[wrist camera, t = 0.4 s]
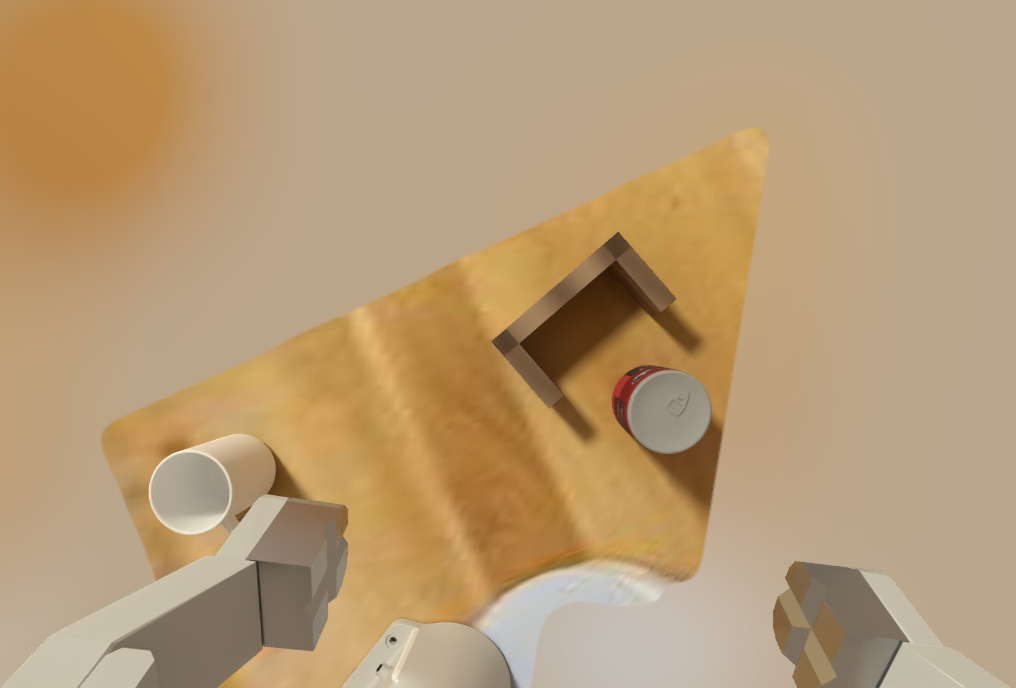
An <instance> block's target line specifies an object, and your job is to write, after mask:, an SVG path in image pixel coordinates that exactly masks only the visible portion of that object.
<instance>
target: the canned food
mask: <svg viewBox="0 0 1016 688" xmlns="http://www.w3.org/2000/svg"><path fill="white" fill-rule="evenodd" d="M612 408H613V412H614V415H615V417H616V419H617V421H618V422H619V424H620V425H621V426H622V427H623V428H624V429H625V430H626V431H627V432H628V433H630V434H631V435H632V436H633V437H634V438H635V439H636V440H637V441H638V442H639V443H640V444H642V445H643V446H644V447H646V448H648V449H649V450H652V451H655V452H658V453H663V454H675V453H679V452H683V451H685V450H687V449H689V448H691V447H692V446H694V445H695V444H696V443H698V442H699V440H700V439H701V438H702V437H703V436H704V434H705V433H706V431H707V429H708V427H709V424H710V421H711V415H712V406H711V401H710V397H709V395H708V393H707V390H706V389H705V388H704V386H703V385H702V384H701V383H700V382H699V381H698V380H697V379H696V378H694V377H693V376H691V375H689V374H688V373H685V372H682V371H679V370H674V369H669V368H664V367H658V366H652V365H647V366H640V367H636V368H634V369H632V370H630V371H629V372H627V373H626V374H625V375H624V376H623V377H622V378H621V379H620V380H619V382H618V383H617V385H616V387H615V389H614V392H613V397H612Z"/></svg>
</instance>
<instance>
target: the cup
mask: <svg viewBox="0 0 1016 688" xmlns="http://www.w3.org/2000/svg"><path fill="white" fill-rule="evenodd" d="M275 475H276V464H275V460H274V457H273V455H272V453H271V451H270V449H269V448H268V447H267V446H266V445H265V444H264V443H263V442H262V441H260V440H259V439H257V438H255V437H253V436H250V435H245V434H235V435H229V436H225V437H222V438H219V439H216V440H213V441H210V442H207V443H204V444H201V445H198V446H194V447H191V448H188V449H185V450H182V451H179V452H176V453H174V454H172V455H170V456H168V457H167V458H165V459H164V460H163V461H162V462H161V463H160V464H159V465H158V466H157V468H156V469H155V471H154V473H153V475H152V478H151V481H150V485H149V499H150V504H151V507H152V509H153V511H154V513H155V515H156V517H157V518H158V519H159V520H160V522H161V523H162V524H164V525H165V526H166V527H167V528H169V529H170V530H172V531H174V532H177V533H180V534H184V535H199V534H203V533H206V532H208V531H210V530H212V529H214V528H216V527H217V526H219V525H220V524H223V526H224V527H225V528H226V529H227V531H228V532H229V533H230V534H232V532H233V531H234V530H235V528H236V527H237V526H238V524H239V521H238V520H237V518H236V517H235V515H237V514H239V513H240V512H242V511H244V510H245V509H247V508H248V507H250V506H251V507H252V506H253V504H254V503H255V502H256V500H257V499H258V498H259V497H261V496H263V495H265V494H267V493H268V492H269V490H270V489H271V487H272V485H273V483H274V480H275Z"/></svg>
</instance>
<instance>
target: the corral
mask: <svg viewBox="0 0 1016 688" xmlns="http://www.w3.org/2000/svg"><path fill="white" fill-rule="evenodd" d="M607 267H608V268H609V269H610V271H611V272H612V273H613V274H614V275H615V276H616V277H617V279H618V280H619V281H620V282H621V283H622V284H623V286H624V287H625V288H626V289H627V290H628V291H629V292H630V294H631V295H632V296H633V297H634V298H635V299H636V300H637V302H638V303H639V304H640V305H641V306H642V307H643V309H644V310H645V311H646V312H647V313H648V314H654V313H659V312H662V311H663V310H664V309H666V308H667V307H668V306H669V305H670V304H671V303H673V302H674V301H675V300H676V298H675V296H674V295H673V294H672V293H671V292H670V291H669V290H668V288H667V287H666V286H665V285H664V284H663V283H662V282H661V280H660V279H659V278H658V277H657V276H656V275H655V273H654V272H653V271H652V270H651V269H650V268H649V267H648V265H647V264H646V263H645V262H644V261H643V260H642V259H641V257H640V256H639V255H638V254H637V253H636V252H635V251H634V249H633V248H632V247H631V246H630V245H629V244H628V242H627V241H626V240H625V239H624V238H623V237H622V236H621V234H620V233H619V232H617V233H616V234H615V235H614V236H613V237H612V238H611V239H609V240H608V241H607V242H606V243H605V244H604V245H602V246H601V247H600V248H599V249H598V250H597V251H596V252H594V253H593V254H592V255H591V256H590V257H589V258H587V259H586V260H585V261H584V262H583V263H582V264H580V265H579V266H578V267H577V268H576V269H575V270H574V271H572V272H571V273H570V274H569V275H568V276H567V277H565V278H564V279H563V280H562V281H561V282H560V283H559V284H557V285H556V286H555V287H554V288H553V289H552V290H550V291H549V292H548V293H547V294H546V295H545V296H544V297H542V298H541V299H540V300H539V301H538V302H537V303H535V304H534V305H533V306H532V307H531V308H530V309H528V310H527V311H526V312H525V313H524V314H523V315H522V316H520V317H519V318H518V319H517V320H516V321H515V322H513V323H512V324H511V325H510V326H509V327H508V328H507V329H505V330H504V331H503V332H502V333H501V334H500V335H498V336H497V337H496V338H495V339H494V340H493V341H492V343H493V344H494V345H495V346H496V347H497V349H498V350H499V351H500V352H501V353H502V354H503V356H504V357H505V358H506V359H507V360H508V361H509V362H510V364H511V365H512V366H513V367H514V368H515V369H516V371H517V372H518V373H519V374H520V375H521V376H522V378H523V379H524V380H525V381H526V382H527V383H528V384H529V386H530V387H531V388H532V389H533V390H534V391H535V393H536V394H537V395H538V396H539V397H540V398H541V400H542V401H543V402H544V403H545V404H546V405H547V407H548V408H550V407H551V406H552V405H554V404H555V403H556V402H557V401H558V400H559V399H561V398H562V397H563V396H564V395H563V393H562V392H561V390H560V389H559V388H558V387H557V386H556V385H555V383H554V382H553V381H552V380H551V379H550V378H549V376H548V375H547V374H546V373H545V372H544V371H543V369H542V368H541V367H540V366H539V365H538V364H537V363H536V361H535V360H534V359H533V358H532V357H531V356H530V354H529V353H528V352H527V351H526V350H525V349H524V347H523V346H522V345H521V344H520V342H522V341H523V340H524V339H525V338H526V337H527V336H529V335H530V334H531V333H532V332H533V331H534V330H536V329H537V328H538V327H539V326H540V325H541V324H542V323H544V322H545V321H546V320H547V319H548V318H549V317H551V316H552V315H553V314H554V313H555V312H556V311H558V310H559V309H560V308H561V307H562V306H563V305H564V304H566V303H567V302H568V301H569V300H570V299H571V298H573V297H574V296H575V295H576V294H577V293H578V292H580V291H581V290H582V289H583V288H584V287H585V286H587V285H588V284H589V283H590V282H591V281H592V280H593V279H595V278H596V277H597V276H598V275H599V274H600V273H602V272H603V271H604V270H605V269H606V268H607Z"/></svg>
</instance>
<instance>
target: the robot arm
mask: <svg viewBox="0 0 1016 688" xmlns="http://www.w3.org/2000/svg"><path fill="white" fill-rule="evenodd" d="M347 525H348V509H347V508H346V506H345V505H339V504H332V503H325V502H319V501H312V500H305V499H298V498H289V497H282V496H275V495H268V494H265V495H263V496H261V497H259V498H258V499H257V500H256V502H255V503H254V504H253V506H252V507H251V508H250V510H249V511H248V512H247V514H246V515H245V516H244V518H243V519H242V520H241V522H240V523H239V524H238V526H237V527H236V528H235V530H234V531H233V532H232V534H231V535H230V536H229V538H228V539H227V541H226V542H225V543H224V545H223V546H222V547H221V549H220V550H219V551H218V553H217V554H216V555H215V556H208V555H206V556H204V557H202V558H200V559H198V560H196V561H194V562H192V563H190V564H188V565H187V566H185V567H183V568H181V569H179V570H177V571H175V572H173V573H171V574H169V575H167V576H165V577H163V578H161V579H159V580H157V581H155V582H153V583H151V584H149V585H147V586H146V587H144V588H142V589H140V590H138V591H136V592H134V593H132V594H130V595H128V596H126V597H124V598H122V599H120V600H119V601H117V602H114V603H112V604H110V605H108V606H107V607H105V608H103V609H101V610H99V611H97V612H95V613H93V614H91V615H89V616H87V617H85V618H83V619H81V620H79V621H77V622H75V623H73V624H71V625H70V626H68V627H66V628H64V629H62V630H60V631H58V632H56V633H54V634H52V635H50V636H49V637H48V638H47V639H46V640H45V641H44V642H43V643H42V644H41V646H40V647H39V648H38V649H37V650H36V651H35V652H34V653H33V654H32V655H31V656H30V657H29V658H28V659H27V660H26V661H25V662H24V663H23V665H21V667H20V668H19V669H18V670H17V671H16V672H15V673H14V674H13V675H12V676H11V677H10V678H9V679H8V680H7V681H6V682H5V683H4V684H3V685H2V686H1V688H217V687H218V686H219V685H221V684H222V683H223V682H224V681H225V680H227V679H228V678H229V677H230V676H231V675H233V674H234V673H235V672H236V671H237V670H238V669H240V668H241V667H242V666H243V665H244V664H246V663H247V662H248V661H249V660H250V659H252V658H253V657H254V656H255V655H256V654H258V653H259V652H260V651H261V650H262V646H265V647H275V648H286V649H296V650H307V651H314V649H315V646H316V644H317V642H318V639H319V637H320V635H321V632H322V630H323V628H324V625H325V623H326V621H327V618H328V603H329V602H330V601H332V600H333V599H335V598H336V597H337V595H338V592H339V590H340V587H341V585H342V582H343V578H344V574H345V570H346V565H347V557H348V543H347V541H346V540H345V539H344V537H343V534H344V532H345V529H346V527H347ZM785 579H786V581H787V583H788V585H789V587H790V589H788V590H787V591H786V592H784V593H783V594H781V595H780V596H778V599H777V601H776V604H775V607H774V610H773V628H774V633H775V637H776V641H777V643H778V645H779V648H780V650H781V652H782V654H784V655H785V656H786V657H787V658H788V659H789V660H790V661H791V662H792V663H793V664H795V665H796V667H795V670H794V673H793V676H792V677H793V679H794V681H795V683H796V685H797V688H1011V687H1009V686H1007V685H1006V684H1005V683H1003V682H1002V681H1000V680H999V679H997V678H996V677H994V676H993V675H992V674H990V673H988V672H987V671H986V670H984V669H983V668H981V667H980V666H978V665H977V664H975V663H974V662H972V661H971V660H970V659H968V658H966V657H965V656H964V655H962V654H961V653H959V652H958V651H956V650H955V649H953V648H946V647H943V645H942V644H941V643H940V641H939V640H938V639H937V637H936V636H935V635H934V633H933V632H932V631H931V630H930V628H929V627H928V626H927V624H926V623H925V622H924V621H923V619H922V618H921V617H920V615H919V614H918V613H917V612H916V610H915V609H914V608H913V606H912V605H911V604H910V602H909V601H908V600H907V598H906V597H905V596H904V594H903V593H902V592H901V591H900V589H899V588H898V587H897V585H896V584H895V583H894V582H893V580H892V579H891V578H890V576H888V575H887V574H886V573H884V572H883V571H881V570H874V569H864V568H854V567H852V568H847V567H840V566H831V565H823V564H814V563H805V562H797V561H795V562H794V563H793V564H792V565H791V567H789V570H788V572H787V575H786V577H785ZM391 637H395V638H396V639H397V641H392V640H391ZM341 688H511V680H510V674H509V670H508V667H507V664H506V661H505V659H504V657H503V655H502V654H501V652H500V651H499V649H498V648H497V647H496V645H495V644H494V643H493V642H492V641H491V640H490V639H489V638H487V637H486V636H485V635H484V634H482V633H481V632H479V631H477V630H475V629H473V628H471V627H469V626H466V625H462V624H458V623H450V622H441V623H431V624H421V623H418V622H415V621H412V620H408V619H396V620H395V621H393V622H392V623H391V625H390V626H389V627H388V628H387V630H386V631H385V632H384V633H383V635H382V636H381V637H380V638H379V640H378V641H377V642H376V644H375V645H374V646H373V647H372V649H371V650H370V651H369V652H368V654H367V655H366V656H365V657H364V659H363V660H362V661H361V663H360V664H359V665H358V666H357V668H356V669H355V670H354V671H353V673H352V674H351V675H350V676H349V678H348V679H347V680H346V682H345V683H344V684H343V685H342V687H341Z"/></svg>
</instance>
